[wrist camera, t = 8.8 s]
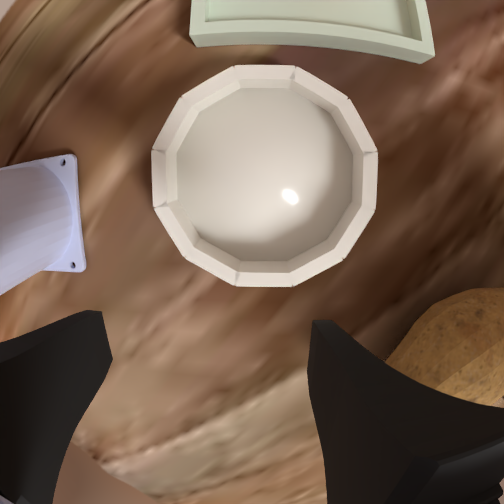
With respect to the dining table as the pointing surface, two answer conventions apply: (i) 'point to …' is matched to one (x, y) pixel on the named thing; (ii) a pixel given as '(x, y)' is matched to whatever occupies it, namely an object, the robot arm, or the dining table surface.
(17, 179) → the robot arm
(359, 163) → the dish
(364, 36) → the tray
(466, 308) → the potato
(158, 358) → the dining table surface
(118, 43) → the dining table surface
